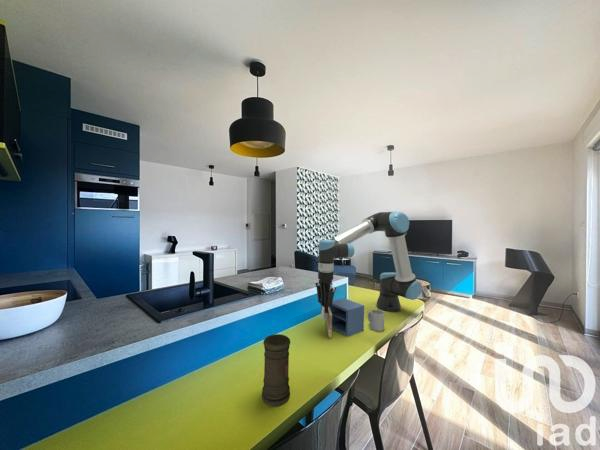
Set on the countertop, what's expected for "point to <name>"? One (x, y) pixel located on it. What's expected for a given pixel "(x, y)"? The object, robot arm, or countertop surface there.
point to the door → (329, 323)
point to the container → (276, 370)
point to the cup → (376, 320)
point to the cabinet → (347, 316)
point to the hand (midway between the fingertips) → (324, 318)
